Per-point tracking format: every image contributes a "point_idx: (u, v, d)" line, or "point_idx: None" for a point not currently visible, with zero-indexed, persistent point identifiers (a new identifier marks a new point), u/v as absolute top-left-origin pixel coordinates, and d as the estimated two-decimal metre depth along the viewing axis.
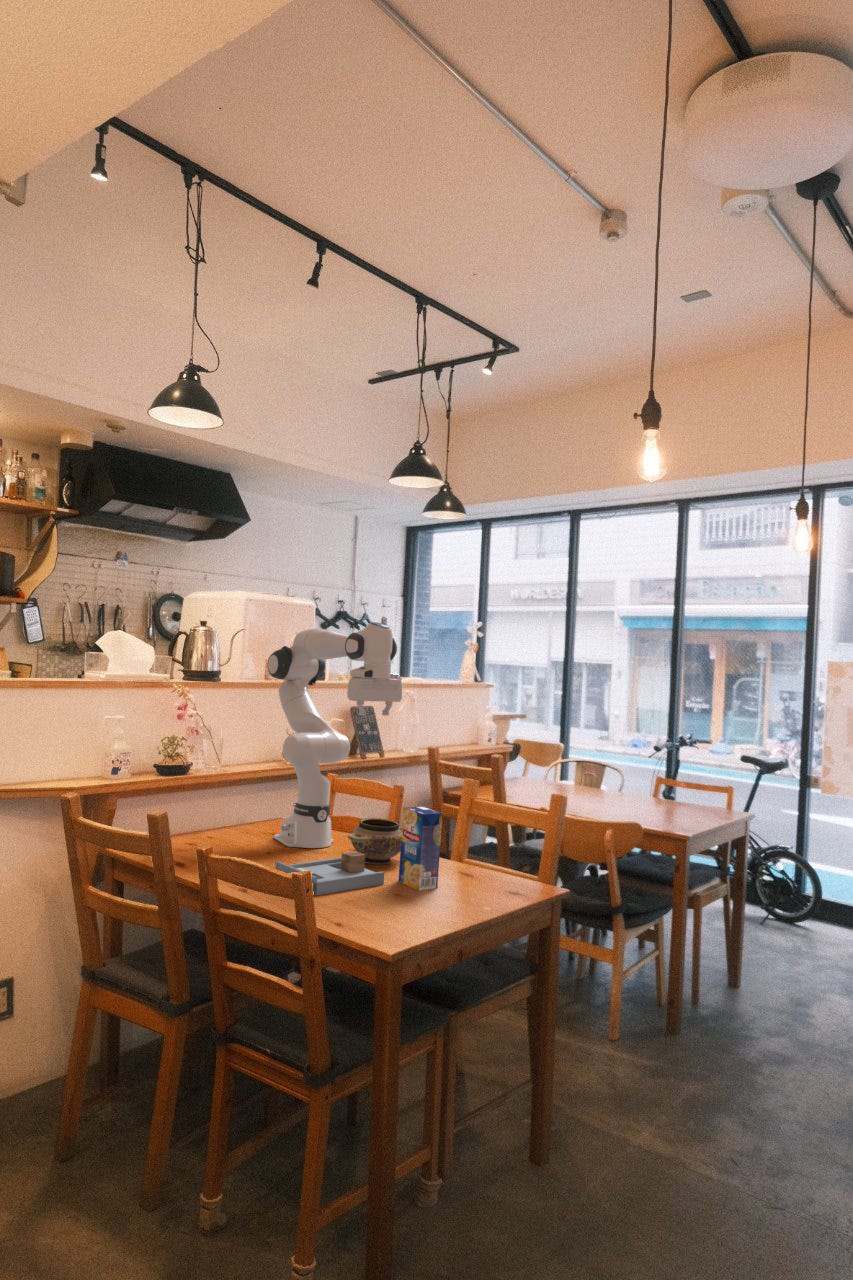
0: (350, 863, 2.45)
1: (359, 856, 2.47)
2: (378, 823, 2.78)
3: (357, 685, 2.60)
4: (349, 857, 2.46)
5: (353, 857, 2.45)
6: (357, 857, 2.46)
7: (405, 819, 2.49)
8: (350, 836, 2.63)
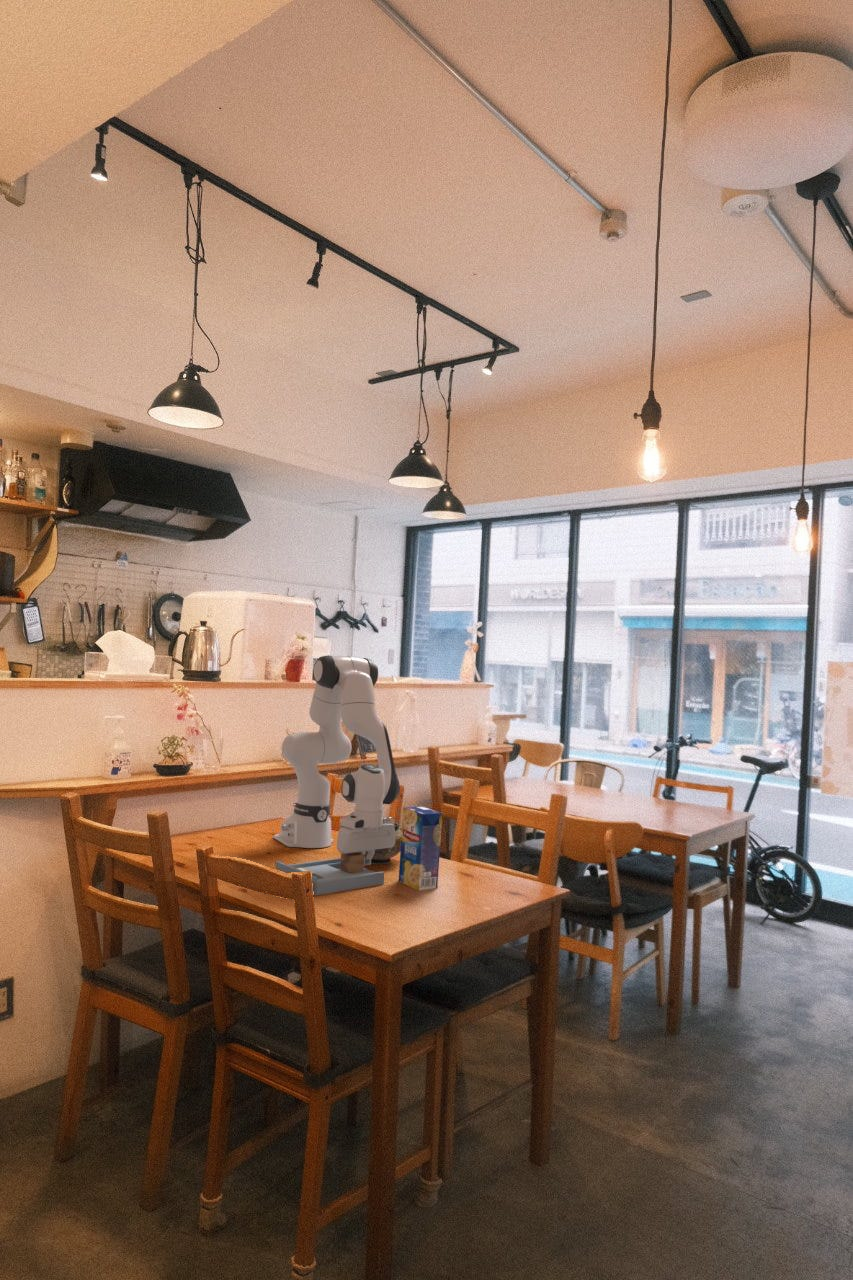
0: (349, 863, 2.45)
1: (358, 856, 2.47)
2: None
3: (348, 838, 2.44)
4: (348, 857, 2.46)
5: (352, 857, 2.45)
6: (356, 857, 2.46)
7: (405, 819, 2.49)
8: None
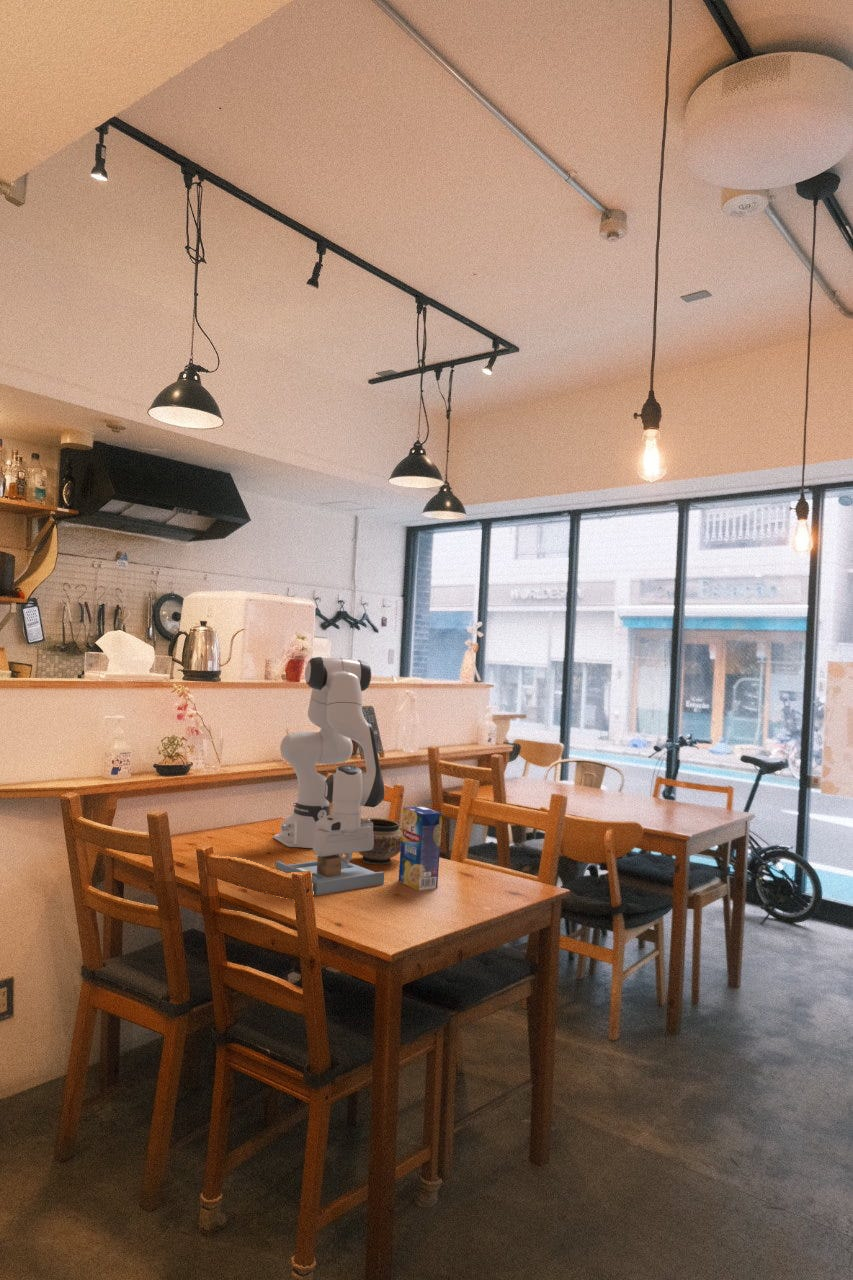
0: (326, 867, 2.39)
1: (335, 859, 2.41)
2: (378, 823, 2.78)
3: (324, 840, 2.38)
4: (325, 860, 2.40)
5: (329, 860, 2.40)
6: (333, 860, 2.41)
7: (405, 819, 2.49)
8: None
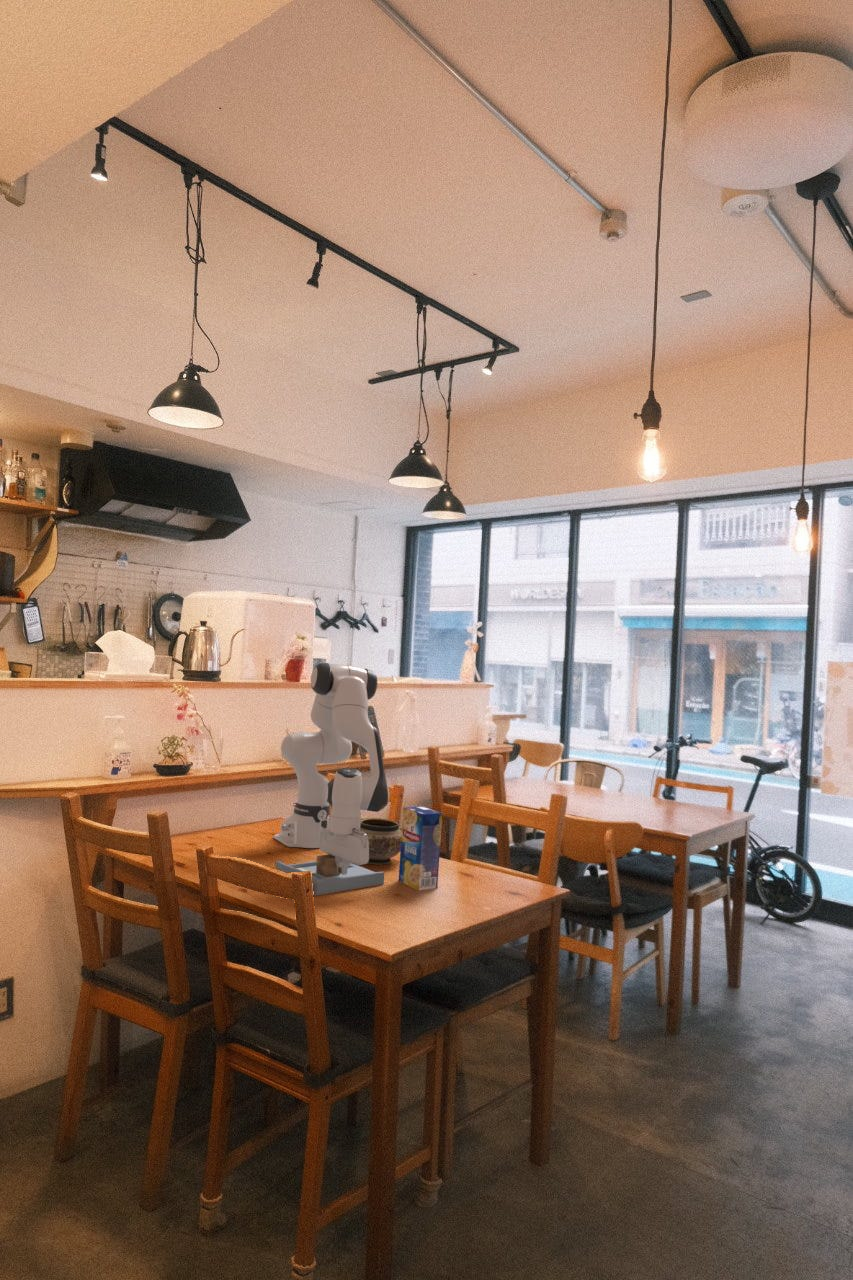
0: (325, 866, 2.40)
1: None
2: (378, 823, 2.78)
3: (319, 835, 2.45)
4: (324, 860, 2.40)
5: (328, 860, 2.40)
6: (332, 860, 2.41)
7: (405, 819, 2.49)
8: None
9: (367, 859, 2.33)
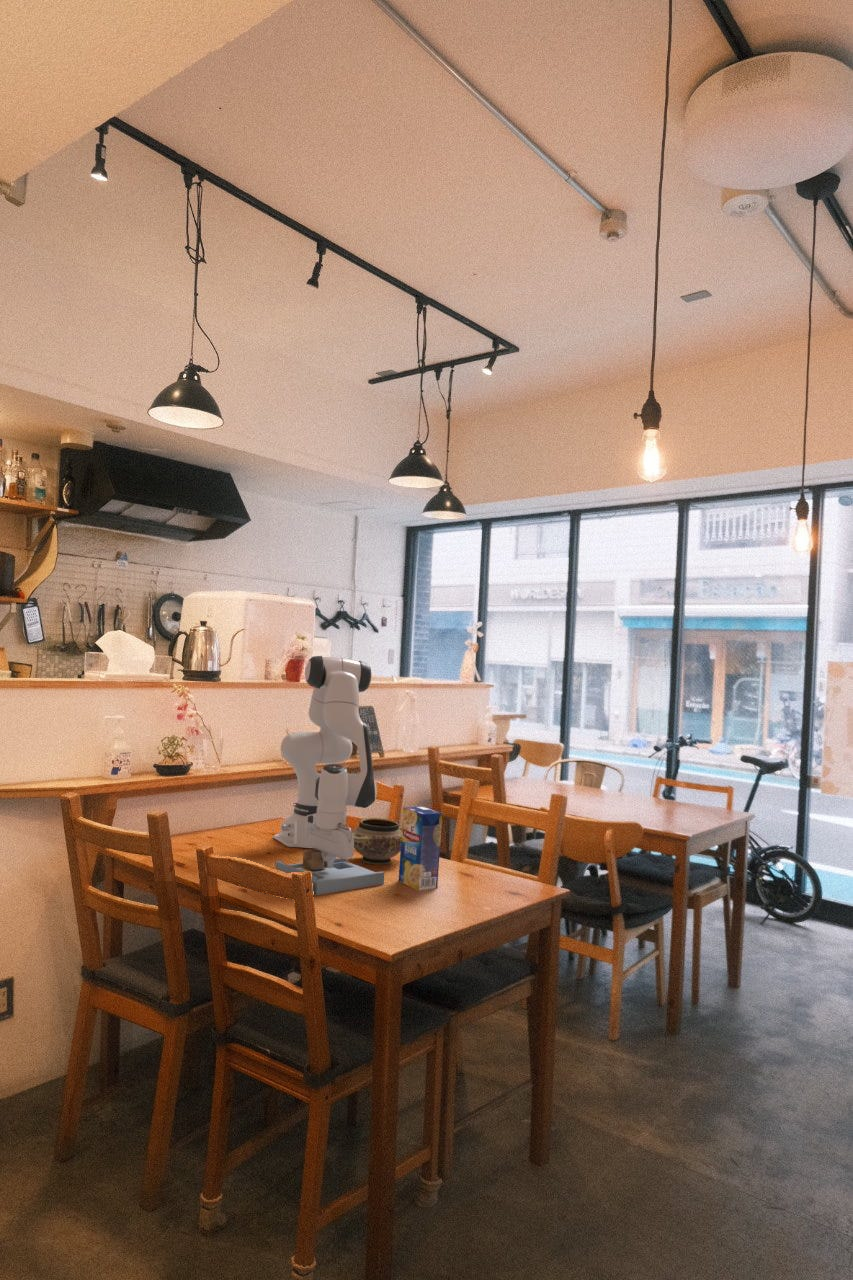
0: (312, 860, 2.45)
1: None
2: (378, 823, 2.78)
3: (306, 830, 2.51)
4: (311, 854, 2.45)
5: (315, 854, 2.45)
6: (319, 854, 2.46)
7: (405, 819, 2.49)
8: None
9: (352, 853, 2.39)
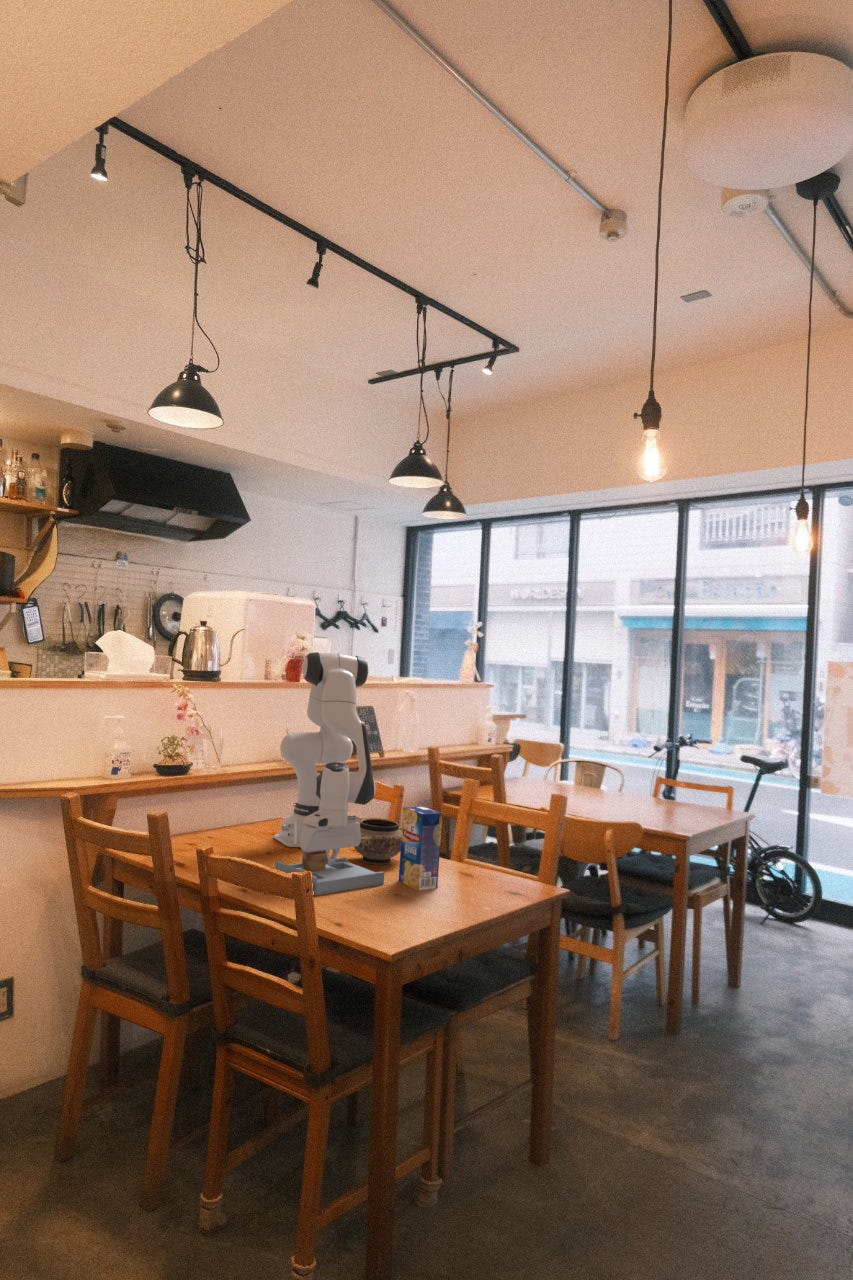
0: (311, 861, 2.44)
1: (320, 854, 2.46)
2: (378, 823, 2.78)
3: (311, 836, 2.42)
4: (310, 855, 2.45)
5: (314, 855, 2.44)
6: (318, 855, 2.45)
7: (405, 819, 2.49)
8: None
9: None
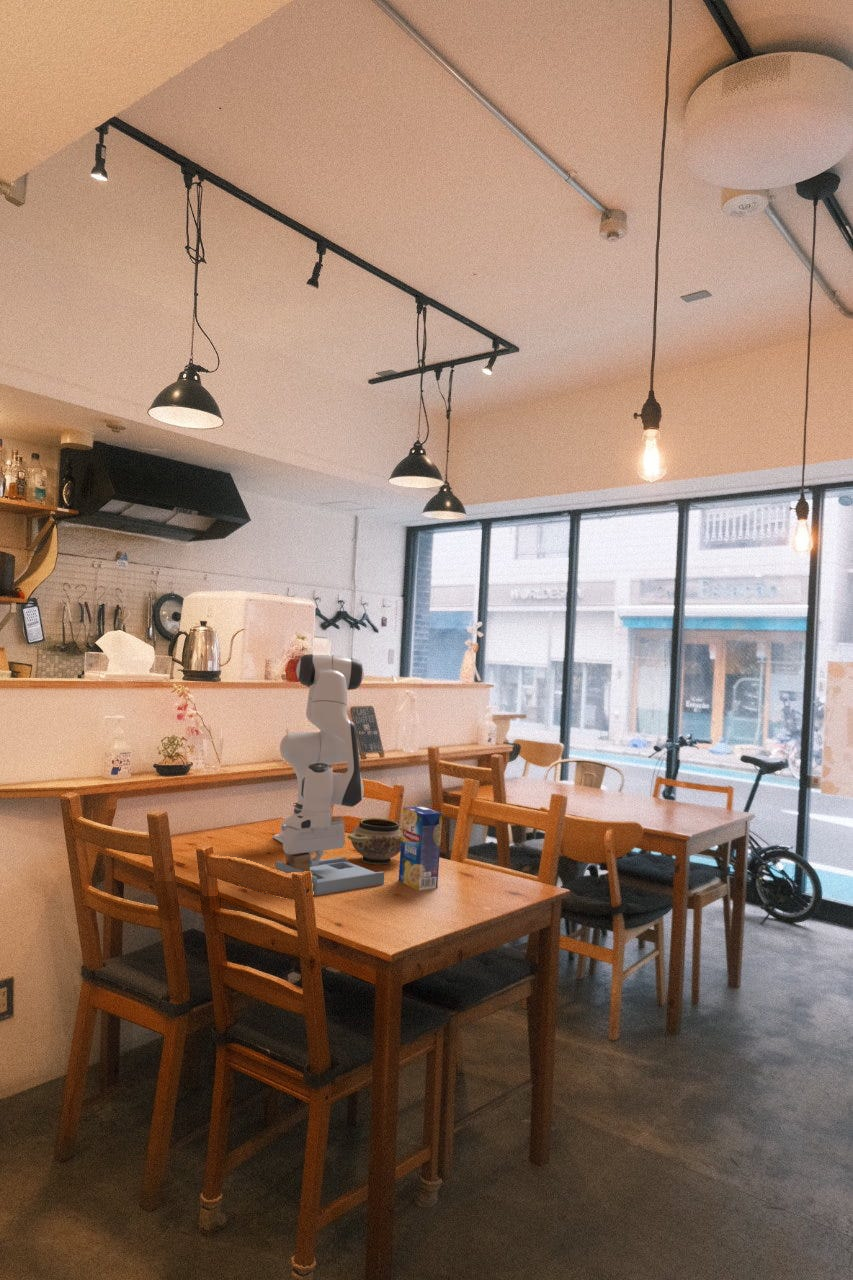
0: (294, 864, 2.40)
1: (303, 856, 2.42)
2: (378, 823, 2.78)
3: (293, 838, 2.38)
4: (293, 858, 2.41)
5: (297, 858, 2.40)
6: (301, 857, 2.41)
7: (405, 819, 2.49)
8: (350, 836, 2.63)
9: None
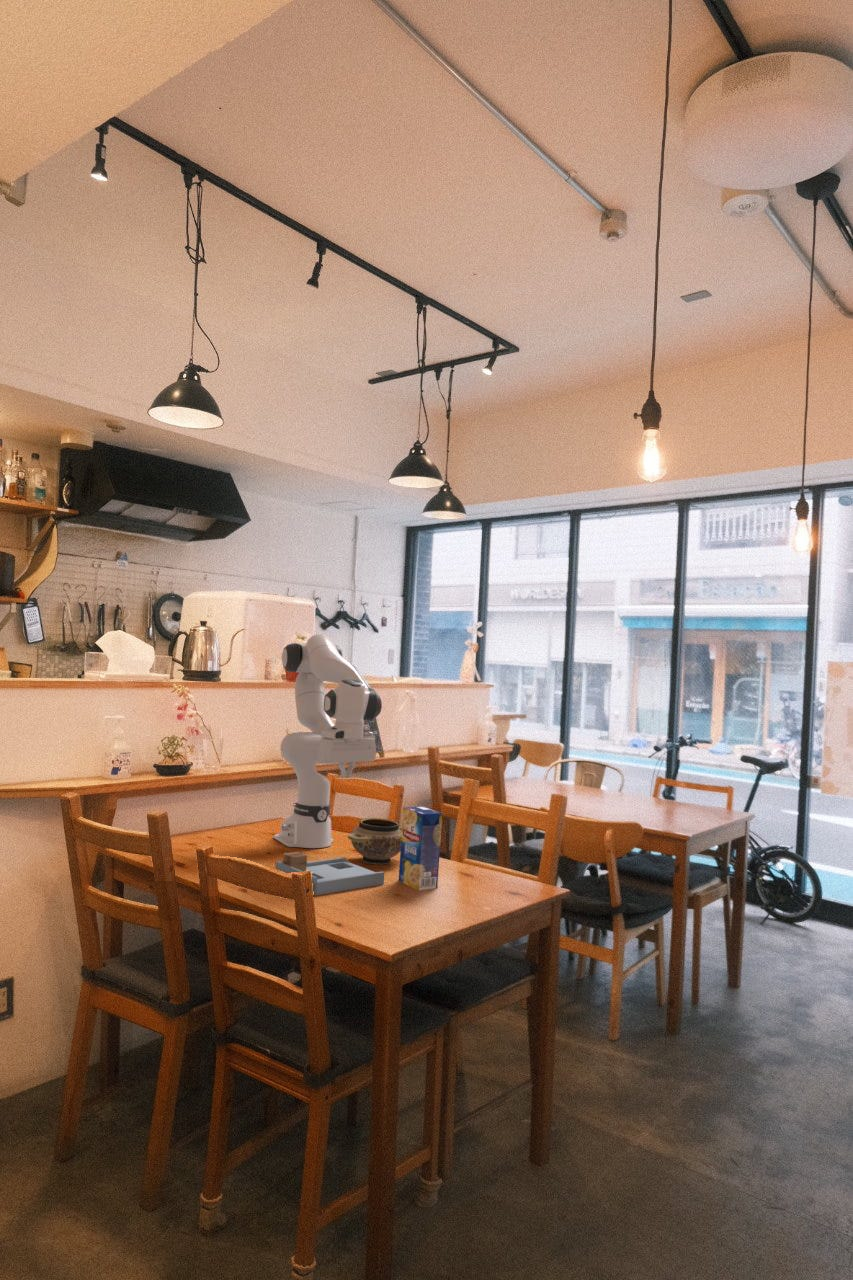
0: (291, 864, 2.40)
1: (300, 857, 2.41)
2: (378, 823, 2.78)
3: (328, 747, 2.50)
4: (290, 858, 2.40)
5: (294, 858, 2.40)
6: (298, 858, 2.41)
7: (405, 819, 2.49)
8: (350, 836, 2.63)
9: None
